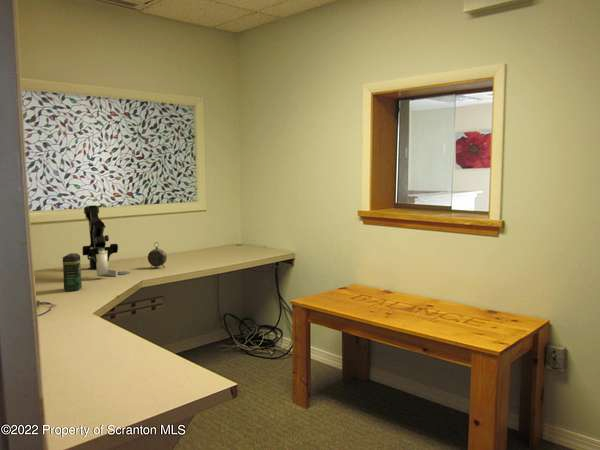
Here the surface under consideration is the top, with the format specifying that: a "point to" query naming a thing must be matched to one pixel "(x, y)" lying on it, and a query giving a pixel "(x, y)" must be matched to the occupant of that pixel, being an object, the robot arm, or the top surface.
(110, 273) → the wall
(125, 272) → the mat
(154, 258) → the alarm clock
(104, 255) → the bottle
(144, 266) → the top surface
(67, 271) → the coffee jar
